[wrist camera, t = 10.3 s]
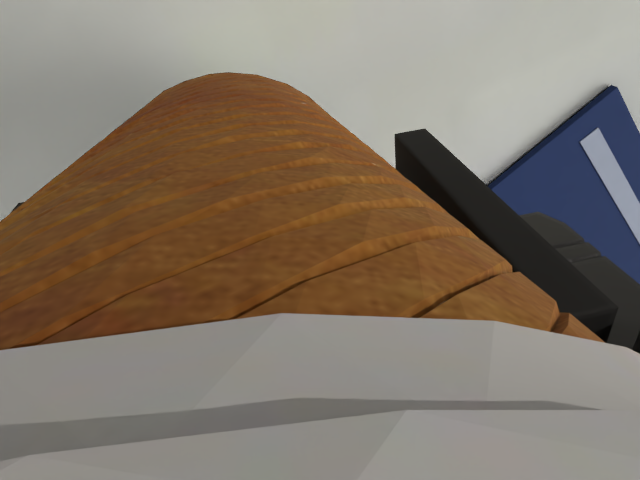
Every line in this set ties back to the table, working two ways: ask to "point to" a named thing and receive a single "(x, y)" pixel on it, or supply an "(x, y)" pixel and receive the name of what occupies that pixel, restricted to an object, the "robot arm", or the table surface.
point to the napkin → (586, 179)
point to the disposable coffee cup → (283, 317)
